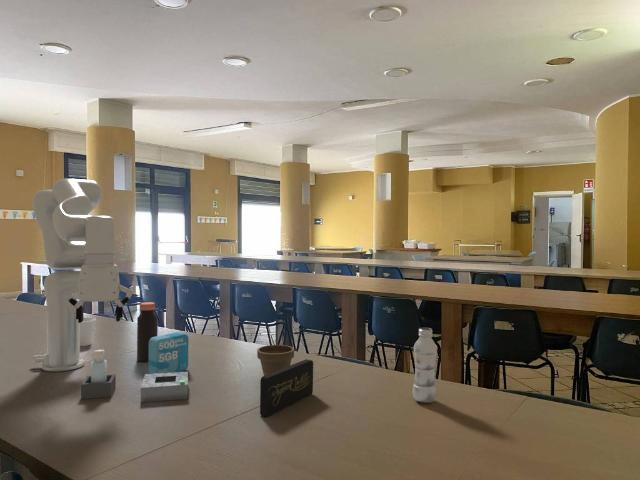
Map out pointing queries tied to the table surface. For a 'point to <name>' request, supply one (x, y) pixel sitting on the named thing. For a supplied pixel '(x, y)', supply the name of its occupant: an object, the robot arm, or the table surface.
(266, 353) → the flower pot
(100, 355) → the plug
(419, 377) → the plastic bottle
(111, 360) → the table surface
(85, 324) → the dixie cup
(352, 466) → the table surface
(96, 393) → the grey open box
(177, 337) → the data package
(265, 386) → the nameplate
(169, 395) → the port
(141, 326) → the vinegar
